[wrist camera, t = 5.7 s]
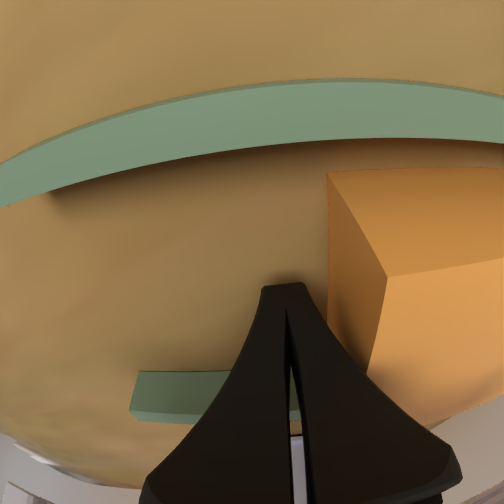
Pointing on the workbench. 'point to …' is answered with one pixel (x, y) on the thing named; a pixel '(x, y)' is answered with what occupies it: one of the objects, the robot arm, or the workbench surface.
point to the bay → (236, 137)
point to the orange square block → (420, 283)
